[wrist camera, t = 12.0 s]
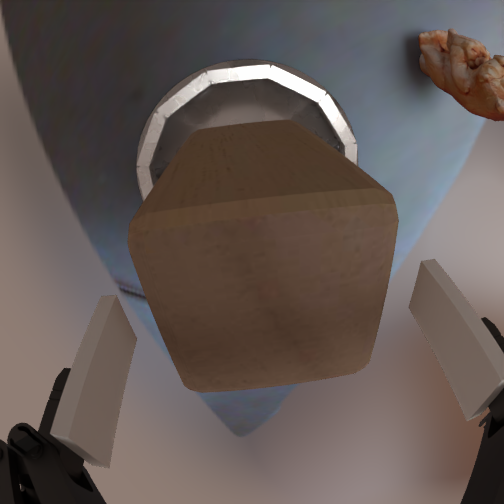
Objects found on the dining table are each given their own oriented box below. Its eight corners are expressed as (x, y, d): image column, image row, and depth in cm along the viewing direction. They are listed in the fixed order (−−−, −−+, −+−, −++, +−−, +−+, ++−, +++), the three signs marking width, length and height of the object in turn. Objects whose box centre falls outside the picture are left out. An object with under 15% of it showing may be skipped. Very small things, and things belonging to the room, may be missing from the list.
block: (205, 225, 31) (183, 400, 14) (189, 129, 26) (110, 231, 9) (302, 214, 31) (372, 376, 14) (297, 117, 26) (412, 197, 9)
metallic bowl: (121, 82, 24) (112, 82, 22) (352, 58, 24) (362, 56, 22) (164, 274, 35) (161, 286, 33) (350, 253, 35) (357, 264, 33)
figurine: (431, 30, 21) (536, 29, 9) (449, 94, 25) (552, 125, 12) (386, 36, 22) (490, 26, 10) (407, 104, 26) (511, 139, 13)
